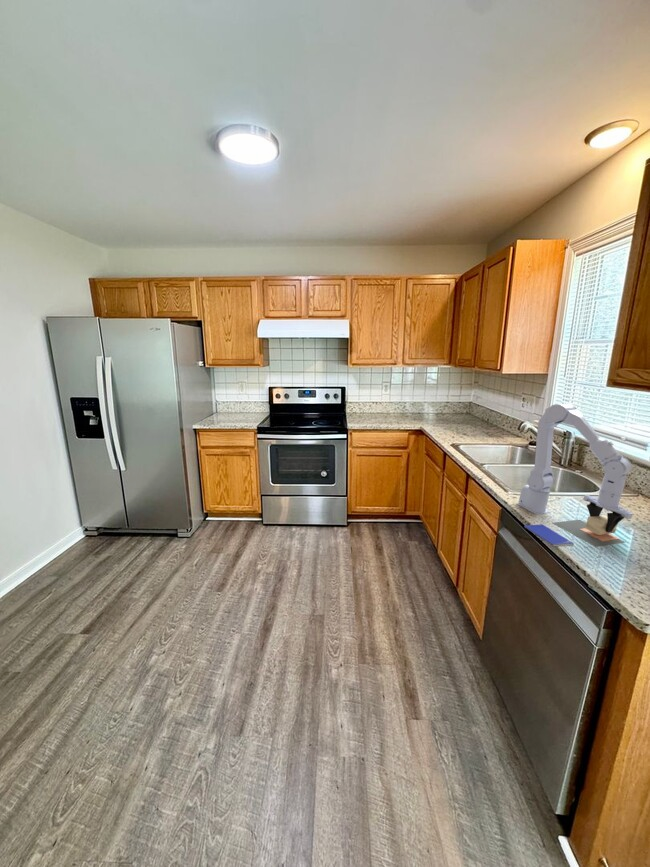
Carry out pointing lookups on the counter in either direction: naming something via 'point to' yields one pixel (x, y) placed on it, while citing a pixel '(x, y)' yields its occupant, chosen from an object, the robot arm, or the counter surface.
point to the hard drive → (548, 535)
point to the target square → (601, 537)
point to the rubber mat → (575, 528)
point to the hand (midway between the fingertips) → (600, 527)
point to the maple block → (598, 524)
